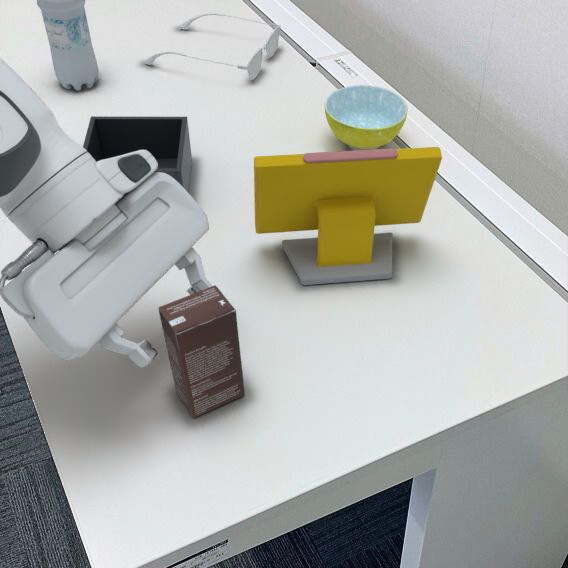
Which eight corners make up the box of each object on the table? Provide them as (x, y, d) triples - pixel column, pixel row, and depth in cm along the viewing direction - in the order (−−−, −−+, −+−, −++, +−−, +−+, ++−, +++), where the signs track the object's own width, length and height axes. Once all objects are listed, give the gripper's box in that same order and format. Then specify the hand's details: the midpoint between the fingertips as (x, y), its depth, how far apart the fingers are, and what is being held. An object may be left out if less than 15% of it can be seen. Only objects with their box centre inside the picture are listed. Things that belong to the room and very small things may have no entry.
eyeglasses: (248, 88, 119) (247, 64, 116) (141, 67, 122) (137, 42, 119) (282, 45, 129) (282, 21, 126) (182, 26, 132) (180, 2, 129)
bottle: (46, 84, 117) (11, -56, 102) (81, 67, 121) (51, -70, 106) (77, 99, 114) (45, -43, 100) (111, 81, 118) (85, -57, 103)
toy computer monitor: (414, 234, 97) (431, 122, 85) (429, 276, 92) (449, 163, 80) (255, 245, 94) (250, 131, 82) (261, 289, 89) (256, 174, 77)
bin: (87, 217, 96) (76, 171, 91) (100, 161, 104) (90, 116, 99) (187, 216, 97) (181, 170, 92) (192, 161, 105) (187, 116, 100)
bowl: (343, 174, 105) (345, 134, 100) (311, 131, 112) (312, 92, 107) (416, 158, 108) (422, 119, 104) (381, 117, 115) (385, 78, 111)
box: (225, 367, 80) (216, 282, 72) (246, 396, 78) (239, 311, 69) (171, 390, 78) (156, 305, 69) (191, 421, 75) (177, 336, 67)
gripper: (0, 269, 58) (127, 398, 63) (158, 141, 71) (254, 255, 76) (-28, 293, 63) (93, 412, 67) (126, 168, 76) (219, 275, 80)
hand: (180, 328), depth 72 cm, fingers open, 8 cm apart
